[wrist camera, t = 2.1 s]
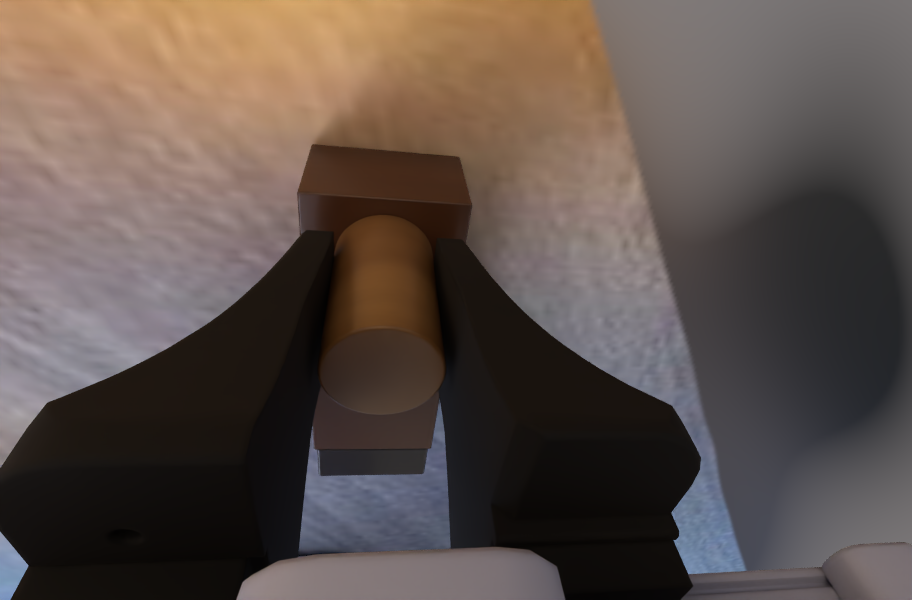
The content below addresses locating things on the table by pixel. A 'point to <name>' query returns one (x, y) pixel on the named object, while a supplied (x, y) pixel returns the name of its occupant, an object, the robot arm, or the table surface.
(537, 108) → the table surface
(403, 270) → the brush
